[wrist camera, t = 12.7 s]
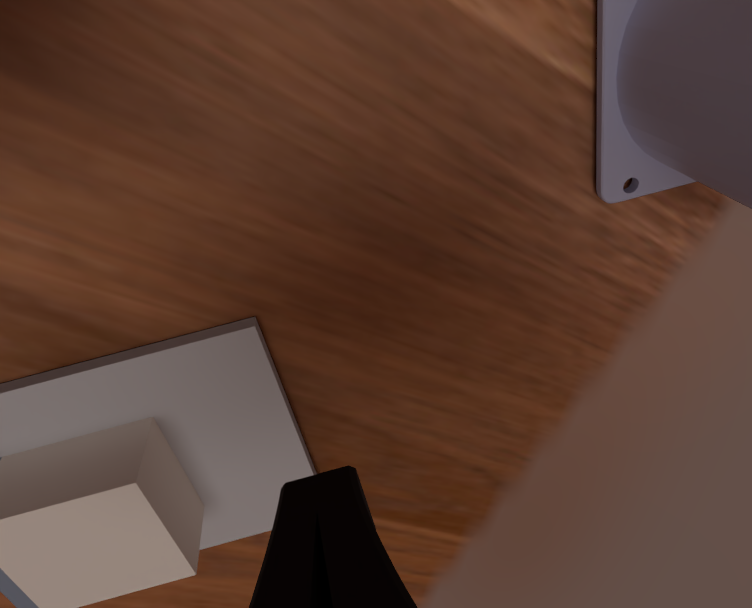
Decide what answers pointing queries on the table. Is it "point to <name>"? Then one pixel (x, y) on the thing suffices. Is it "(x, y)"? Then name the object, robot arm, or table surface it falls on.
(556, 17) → the table surface
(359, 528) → the robot arm
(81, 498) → the beige rectangular block
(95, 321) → the table surface
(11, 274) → the table surface
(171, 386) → the mat
